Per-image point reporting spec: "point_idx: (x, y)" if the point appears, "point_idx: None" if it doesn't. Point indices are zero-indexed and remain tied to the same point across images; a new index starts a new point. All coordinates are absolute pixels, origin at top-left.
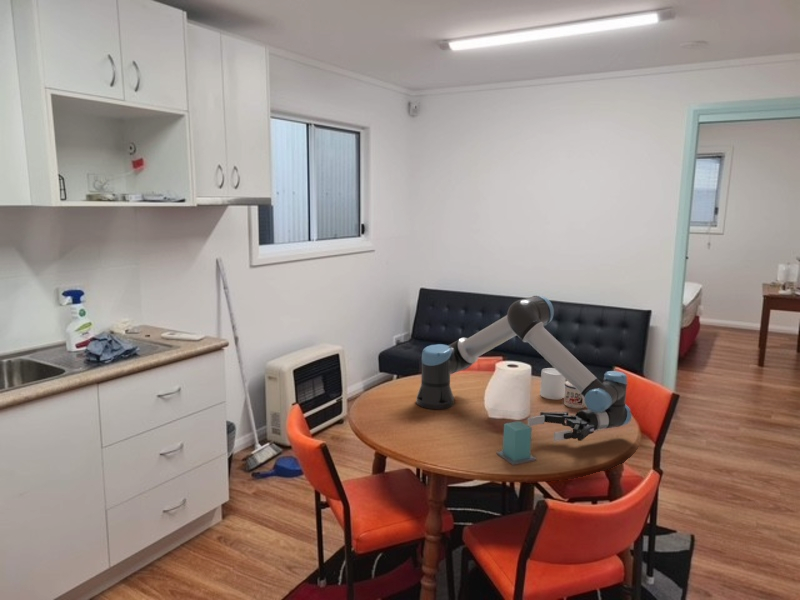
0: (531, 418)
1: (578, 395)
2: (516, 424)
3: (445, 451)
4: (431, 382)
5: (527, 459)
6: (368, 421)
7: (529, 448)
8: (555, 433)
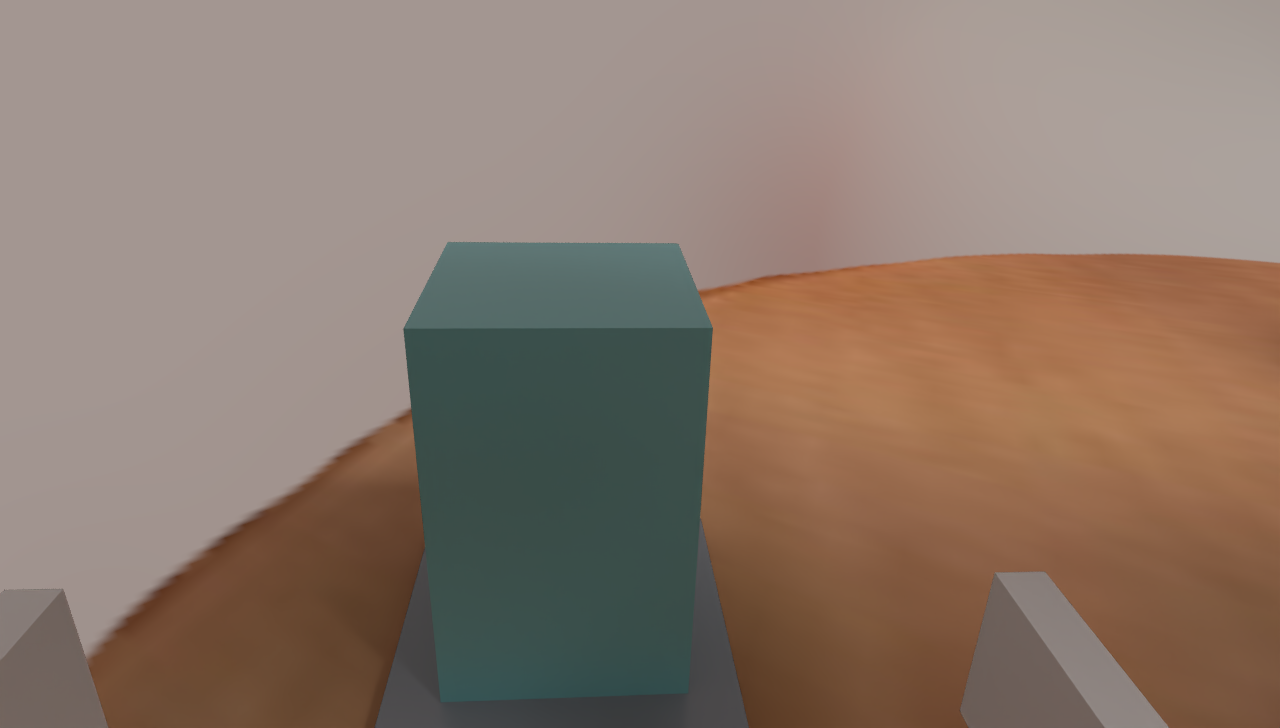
0: (1024, 625)
1: None
2: (607, 283)
3: (817, 360)
4: None
5: (415, 653)
6: (1244, 277)
7: (432, 590)
8: (7, 591)
